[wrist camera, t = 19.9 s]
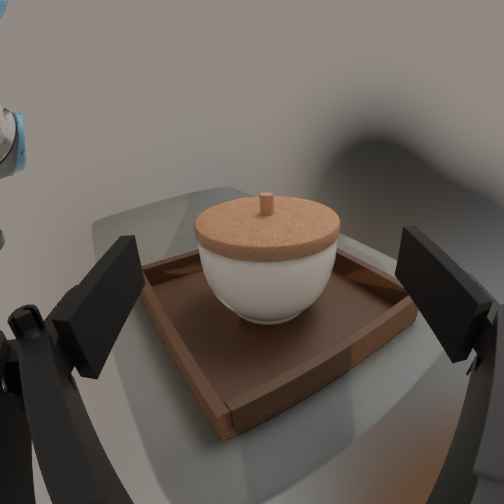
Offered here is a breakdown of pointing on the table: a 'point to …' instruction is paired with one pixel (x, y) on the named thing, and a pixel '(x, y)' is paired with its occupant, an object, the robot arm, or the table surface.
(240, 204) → the trinket box
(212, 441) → the table surface
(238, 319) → the tray
